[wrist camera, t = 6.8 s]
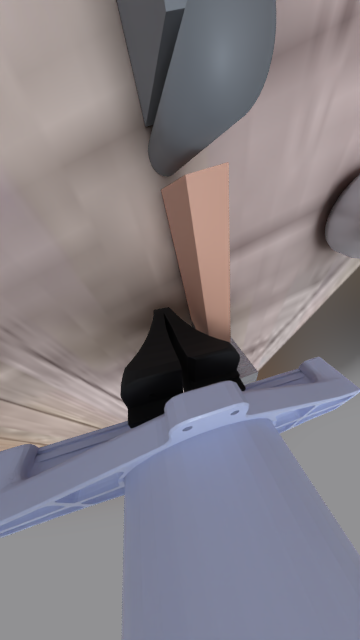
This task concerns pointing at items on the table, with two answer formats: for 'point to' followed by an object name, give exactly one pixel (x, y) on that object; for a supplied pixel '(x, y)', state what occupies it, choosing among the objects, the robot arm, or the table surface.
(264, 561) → the robot arm
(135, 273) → the table surface
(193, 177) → the rectangular block
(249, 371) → the grey angular block
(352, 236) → the plastic bottle
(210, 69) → the gray lobed block
